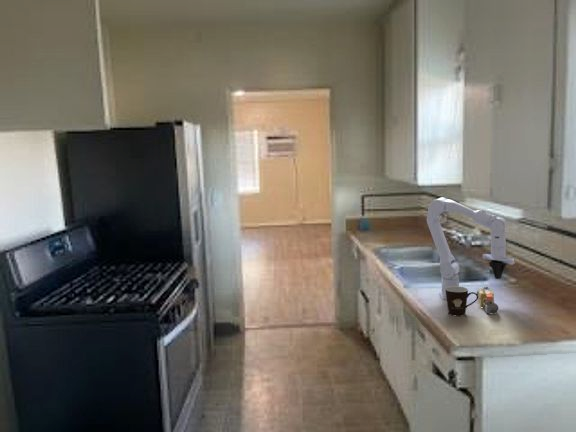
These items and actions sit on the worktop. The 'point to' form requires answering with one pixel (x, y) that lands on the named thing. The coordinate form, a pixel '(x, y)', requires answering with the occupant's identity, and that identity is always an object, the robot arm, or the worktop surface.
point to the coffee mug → (457, 300)
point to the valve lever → (488, 294)
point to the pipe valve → (487, 302)
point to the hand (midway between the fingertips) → (498, 278)
